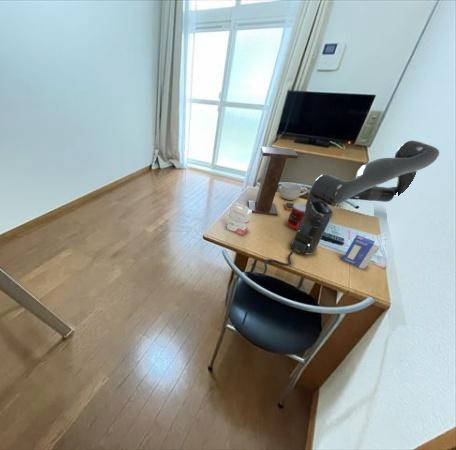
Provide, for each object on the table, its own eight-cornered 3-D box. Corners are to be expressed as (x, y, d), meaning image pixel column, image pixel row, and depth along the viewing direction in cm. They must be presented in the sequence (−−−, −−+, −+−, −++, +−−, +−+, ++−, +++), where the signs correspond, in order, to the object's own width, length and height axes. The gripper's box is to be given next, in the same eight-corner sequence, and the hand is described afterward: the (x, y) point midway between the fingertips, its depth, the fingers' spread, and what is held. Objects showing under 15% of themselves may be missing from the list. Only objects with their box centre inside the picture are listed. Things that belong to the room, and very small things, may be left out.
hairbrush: (327, 210, 135) (329, 207, 133) (330, 215, 131) (332, 211, 129) (284, 205, 139) (285, 202, 138) (286, 209, 135) (287, 206, 134)
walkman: (341, 260, 102) (355, 236, 95) (343, 256, 103) (357, 233, 97) (364, 269, 97) (380, 246, 90) (366, 266, 99) (381, 242, 92)
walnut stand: (274, 204, 139) (293, 148, 121) (278, 215, 130) (298, 156, 112) (247, 201, 142) (261, 145, 124) (248, 212, 133) (263, 153, 115)
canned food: (304, 224, 123) (312, 205, 117) (302, 232, 118) (310, 212, 112) (287, 219, 127) (294, 201, 120) (285, 227, 121) (292, 207, 115)
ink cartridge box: (247, 231, 118) (254, 204, 110) (242, 235, 115) (249, 208, 107) (231, 224, 123) (237, 198, 115) (226, 228, 120) (231, 201, 112)
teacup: (277, 199, 145) (281, 186, 140) (279, 192, 153) (282, 180, 148) (303, 205, 140) (308, 192, 135) (303, 197, 148) (308, 184, 143)
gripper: (364, 180, 126) (329, 176, 129) (377, 192, 115) (339, 188, 118) (357, 193, 131) (323, 189, 134) (369, 206, 119) (332, 202, 122)
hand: (330, 189), depth 126 cm, fingers open, 8 cm apart
